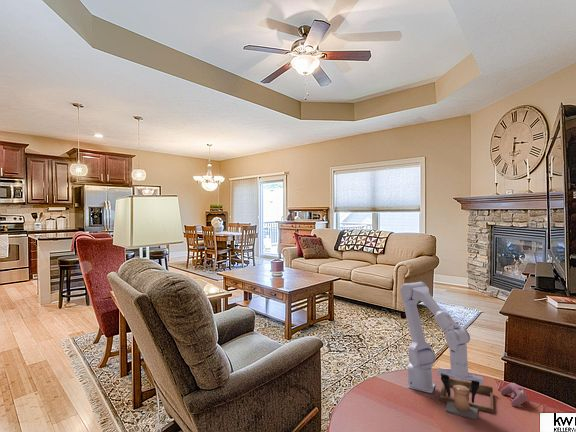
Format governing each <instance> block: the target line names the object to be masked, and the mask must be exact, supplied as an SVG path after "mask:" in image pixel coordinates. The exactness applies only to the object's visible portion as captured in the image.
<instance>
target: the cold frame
mask: <svg viewBox="0 0 576 432" xmlns="http://www.w3.org/2000/svg"><path fill="white" fill-rule="evenodd" d="M454 385H462V386H465V387H467V388H469V390H470V391H471V392H472V390H471V381H467V380H457V379H456V378H453V377H450V387H453V386H454ZM445 391H446V388H445V386H444V384H443V383H442V387H441V390H440V394H439V401H443V402H446V403H447V401H451V402H455V400H454V398H452V397H448V396H445V395H444V394H445ZM476 393H480V394H485V395H488V396H489V397H490V404H489V405H490V406H487V405H481V404H479V403H475V402H474V403H472V402H470V401H469V406H471V407H475V408H478V411H482V412H486V413H490V414H494V387H493V386H490V385H485V384H483V385H482V384H479V388H478V390H477V392H476Z"/></svg>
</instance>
